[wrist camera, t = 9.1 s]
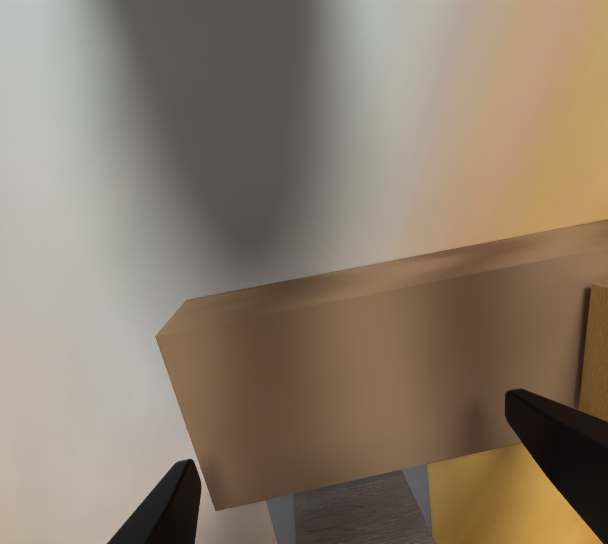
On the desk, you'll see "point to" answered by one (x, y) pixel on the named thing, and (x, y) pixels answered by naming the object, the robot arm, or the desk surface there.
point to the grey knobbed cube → (361, 513)
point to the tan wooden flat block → (596, 355)
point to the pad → (285, 515)
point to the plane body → (379, 361)
